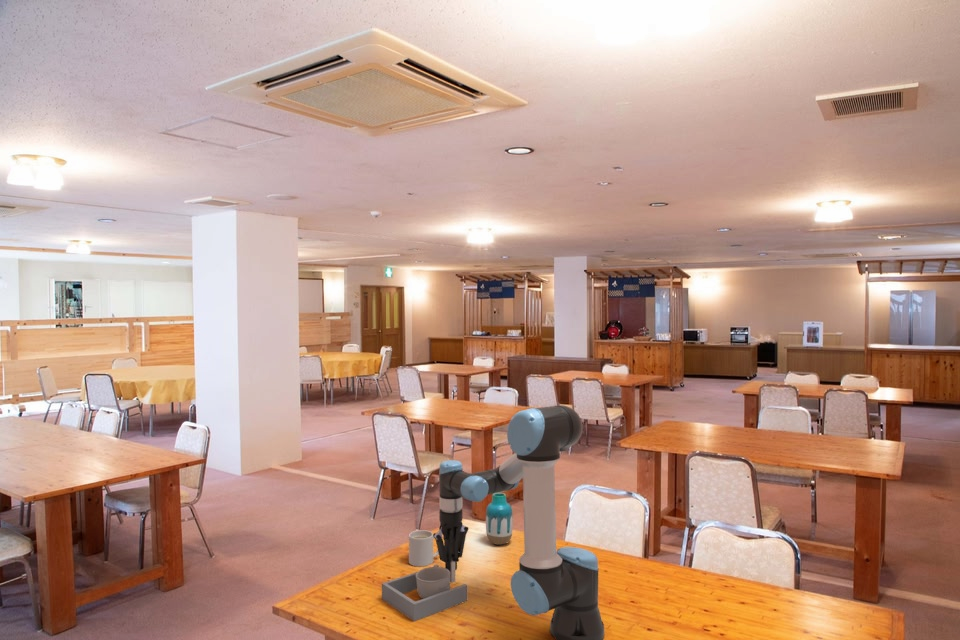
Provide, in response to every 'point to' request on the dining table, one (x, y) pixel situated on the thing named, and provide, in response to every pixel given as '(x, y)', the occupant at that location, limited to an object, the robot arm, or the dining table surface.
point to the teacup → (432, 581)
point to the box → (421, 608)
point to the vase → (499, 520)
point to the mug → (421, 548)
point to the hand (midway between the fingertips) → (451, 580)
